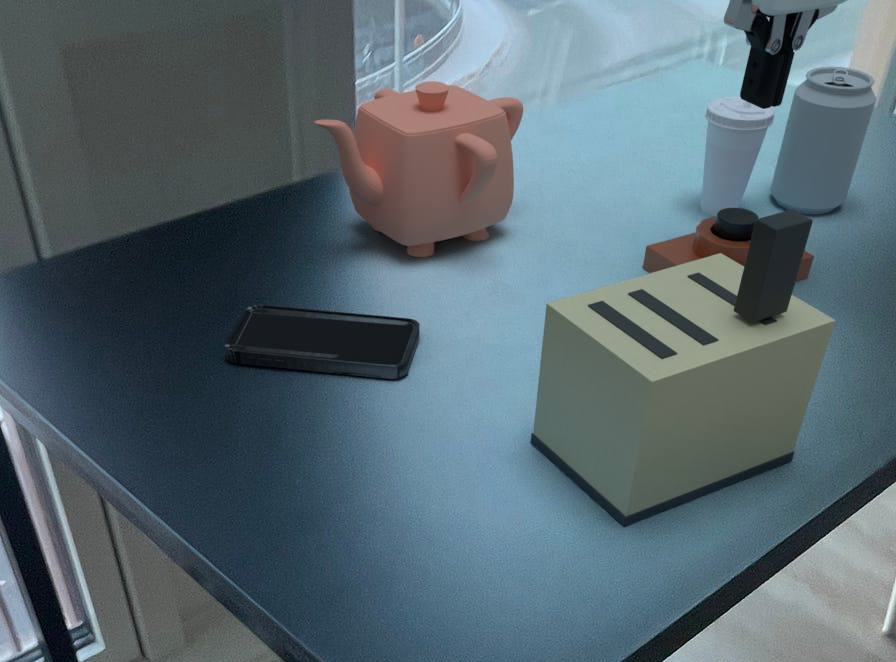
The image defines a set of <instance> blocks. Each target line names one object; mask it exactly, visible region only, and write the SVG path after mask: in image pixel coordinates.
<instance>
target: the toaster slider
mask: <svg viewBox="0 0 896 662" xmlns="http://www.w3.org/2000/svg"><path fill="white" fill-rule="evenodd" d="M758 218H759V219H756V221H755V225H754V230H753V234H752V238H751V242H750V246H749V250H748V254H747V258H746V262H745V266H744V270H743V274H742V278H741V282H740V286H739V290H738V294H737V298H736V302H735V306H734V312H736V313H737V314H739V315H740V316H742V317H744V318H745V319H747V320H748V321H750V322H752V323H753V322H757V321H760V320H763V319H766V318H769V317H772V316H775V315H778V314H781V313H784V312H787V309H788V306H789V302H790V299H791V295H793V291H794V289H795V288H794V287H795V285H796V282H795V281H796V278H797V274H798V271H799V267H800V264H801V260H802V257H803V254H804V251H806V250H805V249H806V245H807V243H808V239H809V236H810V232H811V229H812V226H813V223H814V220H813V219H812V218H811V217H808V216H807V215H806V214H803V213H799V212H797V211H795V210H793V209H791V210H783V211H781V212H777V213H774V214H769V215H766V216H763V217H758Z"/></svg>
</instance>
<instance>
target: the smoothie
mask: <svg viewBox="0 0 896 662" xmlns="http://www.w3.org/2000/svg"><path fill="white" fill-rule="evenodd" d="M775 115H776V110H775V108H774V107H772V106H771V107H770V108H766V109H762V108H760V107H758V106H756V105H753V104H751V103H749V102H747V101H745V100H742V99H741V97H740V96H725V97H719V98H715V99H713V100H710V101H709V103H708V104H707V108H706V112H705V114H704V117H705V119H706V121H707V127H706V138H705V149H704V160H703V161H704V162H703V172H702V173H703V175H702V186H701V198H700V210H701V212H703V213H705V214H706V215H708V216H711V217H715V216H717V213H718V212H719V211H720V210H722V209H725V208H740V207H741V203H742V200H743V198H744V195H745V193H746V190H747V187H748V184H749V182H750V179H751V175H752V173H753V170H754V168H755V167H754V166H755V165H756V162H757V159H758V156H759V153H760V151H761V148H762V145H763V143H764V140H765V138H766V134H767V131H768V129H769V128H770V127H771V126H772V125H773V124H774V118H775Z"/></svg>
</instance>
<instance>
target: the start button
mask: <svg viewBox="0 0 896 662" xmlns="http://www.w3.org/2000/svg"><path fill="white" fill-rule="evenodd" d="M759 218H760V217H759V215H758V214H757V213H756V212H754V211H752V210H749V209H746V208H742V207H739V208H725V209H722V210H720V211H719V212H718V213H717V217H716V221H715V226H714V230H713V234H714V235H715V236H717V237H719V238H721V239H724V240H729V241H733V242H746V241H750V240H751V238H752V234H753V230H754V225H755V221H756V219H759Z"/></svg>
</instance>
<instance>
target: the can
mask: <svg viewBox="0 0 896 662" xmlns="http://www.w3.org/2000/svg"><path fill="white" fill-rule="evenodd" d="M805 78H806V79H805V80H804V81H802V82H801V83H800V84H799V85H798V86H797V87H796V88H795V90H794V93H793V97H792V100H791V105H790V109H789V113H788V118H787V121H786V125H785V129H784V133H783V137H782V141H781V145H780V148H779V152H778V157H777V161H776V165H775V168H774V172H773V176H772V180H771V181H772V182H771V184H770V194H771V195H772V197H773V198H774V199H775V201H776V203H777V204H778V205H779V206H780V207H781V208H783V209H785V210H786V211H788V210H791V209H793V210H795V211H797V212H799V213H801V214H803V215H822V214H827V213H830V212H832V211H834V209H835V208H837V207H839V206H841V205H842V204H844V203H845V202H846V199H847V197H848V193H849V190H850V187H851V183H852V179H853V178H854V177H853V176H854V173H855V171H856V167H857V164H858V162H859V161H858V160H859V157H860V154H861V151H862V148H863V144H864V141H865V137H866V135H867V131H868V128H869V124H870V121H871V118H872V114H873V111H874V108H875V106H876V105H875V104H876V101H877V97H876V95H875V92H874V90H873V88H872V87H873V86H874V84H875V82H876V81H875V79H874V77H873V76H872V75H871V74H869V73H868V72H864V71H862V70H859V69H855V68H850V67H843V66H820V67H815V68H812V69H810V70H808V71H807V72H806V74H805Z"/></svg>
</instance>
